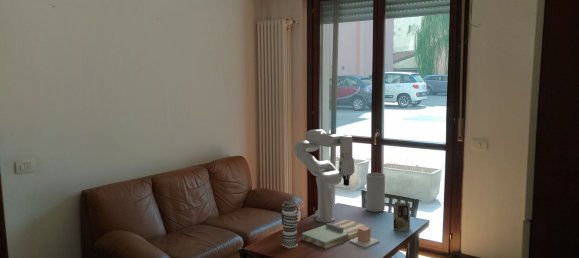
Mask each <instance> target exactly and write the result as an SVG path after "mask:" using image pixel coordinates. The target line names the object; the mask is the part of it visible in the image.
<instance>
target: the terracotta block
mask: <svg viewBox="0 0 579 258" xmlns="http://www.w3.org/2000/svg"><path fill="white" fill-rule="evenodd" d="M357 237H358V241H361V242H364V243H366V242H368V241H370V238H371V231H370V228H367V227H364V226H363V227H360V228H358V236H357Z"/></svg>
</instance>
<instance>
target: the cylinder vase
mask: <svg viewBox="0 0 579 258" xmlns="http://www.w3.org/2000/svg"><path fill="white" fill-rule="evenodd" d="M385 177H386V174H385V173H382V172H369V173H366V177H365V178H366V181H365V182H366V190H365V191H366V203H365V204H366V210H367V211H369V212H372V213H380V212H384V211H385V207H386V206H385V204H386V203H385V202H386V200H385V199H386V198H385V196H386V193H385V192H386V190H385V189H386V188H385V187H386V185H385V184H386V182H385V181H386V178H385Z"/></svg>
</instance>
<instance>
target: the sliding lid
mask: <svg viewBox="0 0 579 258" xmlns="http://www.w3.org/2000/svg"><path fill="white" fill-rule="evenodd" d="M325 223H326V224H324V225H322V226H319V227H316V228H313V229H310V230H307V231H304V232H302V233H301V236H302V235H304V236H306V237H309V238H312V239H314V240H317V241H319V242H322V243H324V244H327V243H329V242H332V241H335V240H337V239H340V238H342V237H345V236H347V235H349V233H346V232H343V227H340V226H337V225H334V224H335V223H332V222H325Z"/></svg>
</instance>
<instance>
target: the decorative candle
mask: <svg viewBox="0 0 579 258" xmlns="http://www.w3.org/2000/svg"><path fill="white" fill-rule="evenodd" d="M281 206H282V209H281V210H282V211H281V212H280V216H281V226H282V233H281V234H282V236H281V237H282V240H281V241H282V242H281V243H282V247H283V246H285V247H287V248H286V249H292V248H294V249H295V248H296V247H298V246H299V245H298V243H299V242H298V232H297V231H298V229H297V226H298V221H297V220H298V213H299V212H298V211H297V203H296V202H295V201H293V200H285V201H284V202H282V204H281ZM285 247H284V248H285Z"/></svg>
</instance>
